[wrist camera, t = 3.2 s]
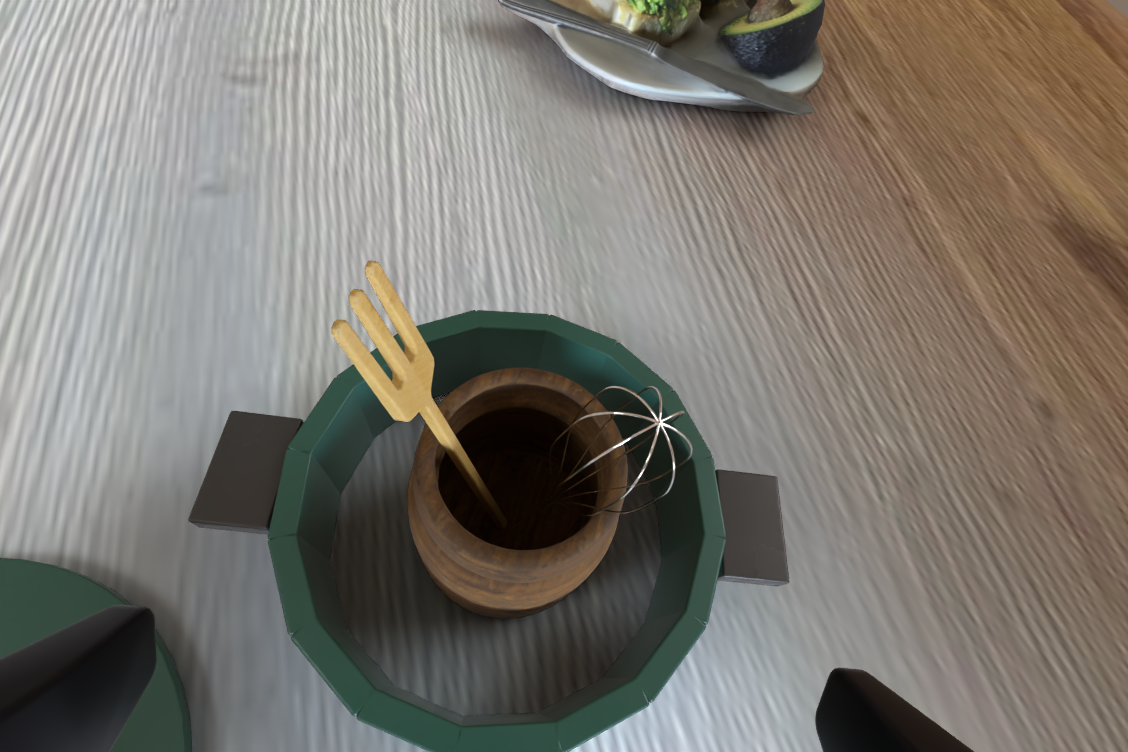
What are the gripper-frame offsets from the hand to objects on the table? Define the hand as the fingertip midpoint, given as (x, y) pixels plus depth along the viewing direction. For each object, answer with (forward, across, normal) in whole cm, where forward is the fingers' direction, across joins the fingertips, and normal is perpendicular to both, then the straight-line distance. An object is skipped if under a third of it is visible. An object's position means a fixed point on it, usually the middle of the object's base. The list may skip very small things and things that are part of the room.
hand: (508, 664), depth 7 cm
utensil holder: (+11, 0, +5) cm, 12 cm away
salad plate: (+33, -7, -17) cm, 38 cm away
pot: (+11, 0, +5) cm, 12 cm away
